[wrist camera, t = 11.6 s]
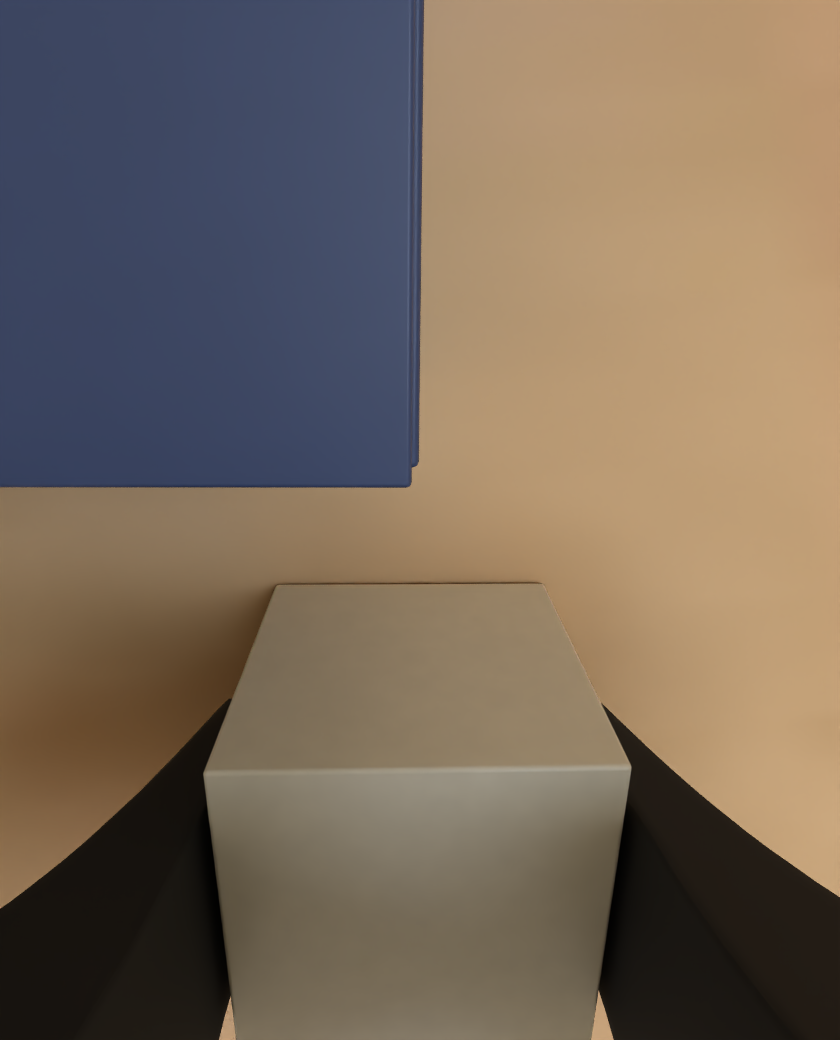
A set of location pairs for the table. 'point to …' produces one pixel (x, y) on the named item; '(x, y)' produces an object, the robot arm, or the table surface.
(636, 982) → the robot arm
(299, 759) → the block
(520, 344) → the table surface
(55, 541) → the table surface
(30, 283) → the carton
